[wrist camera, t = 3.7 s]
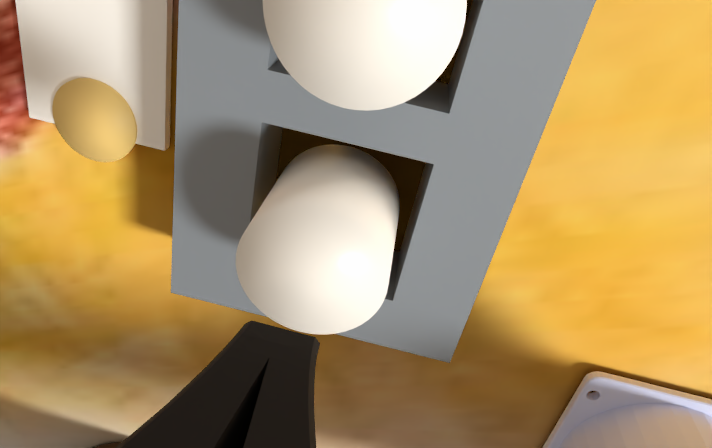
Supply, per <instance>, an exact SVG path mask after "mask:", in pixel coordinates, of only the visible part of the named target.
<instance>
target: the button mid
mask: <svg viewBox="0 0 712 448" xmlns="http://www.w3.org/2000/svg"><path fill="white" fill-rule="evenodd" d="M466 9H467V0H263V14H264V20H265V25H266V30H267V33H268V36H269V39H270V42H271V44H272V46H273V49H274V51H275V53H276V55H277V57H278V58H279V60H280V62H281V63H282V65H283V66H284V68H285V69H286V70H287V71H288V73H289V74H290V75H291V76H292V77H293V78H294V79H295V80H296V81H297V82H298V83H299V84H300V85H301V86H302V87H303V88H304V89H306V90H307V91H308V92H310V93H311V94H313V95H314V96H316V97H318V98H319V99H321V100H323V101H325V102H328V103H330V104H332V105H335V106H339V107H342V108H346V109H352V110H364V111H369V110H380V109H385V108H390V107H393V106H396V105H399V104H402V103H404V102H406V101H408V100H410V99H412V98H414V97H416V96H417V95H419V94H420V93H422V92H423V91H424V90H426V89H427V88H428V87H429V86H430V85H431V84H432V83H434V82H435V81H436V80H437V78H438V77H439V76H440V75H441V74H442V73H443V72H444V70H445V69H446V67H447V66H448V64H449V63H450V61H451V60H452V58H453V56H454V54H455V52H456V50H457V48H458V45H459V42H460V39H461V37H462V33H463V29H464V24H465V19H466Z"/></svg>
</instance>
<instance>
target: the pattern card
mask: <svg viewBox="0 0 712 448" xmlns="http://www.w3.org/2000/svg"><path fill="white" fill-rule="evenodd" d="M15 2H16V10H17V18H18V26H19V35H20V43H21V51H22V60H23V68H24V76H25V84H26V93H27V101H28V109H29V117H30V118H34V119H38V120H42V121H46V122H50V123H54V124H56V127H57V129H58V131H59V133H60V134H61V136H62V137H63V139H64V140H65V141H66V142H67V144H68V145H69V146H70V147H71V148H73V149H74V150H75V151H76V152H78V153H79V154H81V155H83V156H84V157H86V158H89V159H91V160H94V161H99V162H113V161H117V160H119V159H121V158H123V157H125V156H126V155H127V154H128V153H129V152H130V151H131V150H132V149H133V148H134V146H135V144H139V145H143V146H147V147H151V148H156V149H160V150H164V151H165V150H166V149H167V148H169V147H170V107H171V60H172V13H173V0H15Z"/></svg>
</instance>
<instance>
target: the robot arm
mask: <svg viewBox="0 0 712 448" xmlns="http://www.w3.org/2000/svg"><path fill="white" fill-rule="evenodd" d="M319 345H320V343H319V342H318V340H317V339H316V338H315V337H312V336H308V335H304V334H301V333H297V332H293V331H289V330H285V329H282V328H278V327H274V326H270V325H266V324H263V323H259V322H255V321H250V322H248V323H246V324H245V325H244V326H243V327H242V328H241V330H240V331H239V332H238V333H237V334H236V336H235V337H234V338H233V339H232V340H231V341H230V342H229V343H228V345H227V346H226V347H225V348H224V349H223V350H222V351H221V352H220V353H219V354H218V355H217V356H216V357H215V358H214V359H213V360H212V361H211V362H210V364H209V365H208V366H207V367H206V368H205V369H204V370H203V371H202V372H201V373H200V374H198V375H197V376H196V377H195V378H194V379H193V380H192V381H191V382H190V383H189V384H188V385H187V386H186V387H185V388H184V389H183V390H182V391H181V392H180V393H178V394H177V395H176V396H175V397H174V398H173V399H172V400H171V401H170V402H169V403H168V404H167V405H165V406H164V407H163V408H162V409H161V410H160V411H158V412H157V413H156V414H155V415H154V416H153V417H151V418H150V419H149V420H148V421H147V422H146V423H144V424H143V425H142V426H141V427H140V428H138V429H137V430H136V431H135V432H134V433H133V434H131V435H130V436H129V437H128V438H127V439H125V440H124V441H123V442H122V443H120V444H119V445H118V446H117V447H115V448H316V437H315V420H314V379H315V366H316V359H317V354H318V349H319ZM590 391H595V392H593V393H588V392H590ZM542 448H712V399H708V398H704V397H700V396H696V395H692V394H688V393H684V392H680V391H676V390H673V389H669V388H665V387H661V386H657V385H653V384H649V383H645V382H641V381H637V380H633V379H629V378H625V377H621V376H617V375H613V374H609V373H605V372H600V371H595V372H591V373H589V374H587V375H586V376H585V377H584V379H583V380H582V382H581V384H580V385H579V387H578V389H577V390H576V392H575V394H574V395H573V397H572V399H571V400H570V402H569V404H568V405H567V407H566V409H565V410H564V412H563V414H562V416H561V417H560V419H559V421H558V422H557V424H556V426H555V427H554V429H553V431H552V432H551V434H550V436H549V437H548V439H547V441H546V442H545V444H544V446H543V447H542Z"/></svg>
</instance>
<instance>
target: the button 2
mask: <svg viewBox="0 0 712 448" xmlns="http://www.w3.org/2000/svg"><path fill="white" fill-rule="evenodd" d="M399 212H400V199H399V193H398V189H397V187H396V184H395V182H394V180H393V178H392V176H391V175H390V173H389V172H388V171H387V169H386V168H385V167H384V166H383V165H382V164H381V163H380V162H379V161H378V160H376V159H375V158H374V157H372V156H371V155H369V154H367V153H366V152H363V151H361V150H359V149H356V148H353V147H350V146H345V145H335V144H331V145H321V146H317V147H313V148H311V149H308V150H306V151H304V152H302V153H300V154H299V155H297V156H296V157H295V158H294V159H293V160H292V161H291V162H289V164H288V165H287V166H286V168H285V169H284V171H283V172H282V174H281V175H280V177H279V178H278V180H277V182H276V183H275V185H274V186H273V188H272V189H271V191H270V193H269V194H268V196H267V197H266V199H265V200H264V202H263V203H262V205H261V207H260V208H259V210H258V211H257V213H256V214H255V216H254V218H253V219H252V221H251V222H250V224H249V225H248V227H247V229H246V230H245V232H244V233H243V235H242V237H241V239H240V241H239V244H238V247H237V252H236V270H237V275H238V278H239V281H240V284H241V286H242V288H243V290H244V292H245V293H246V295H247V297H248V298H249V299H250V300H251V302H252V303H253V304H254V305H255V306H256V307H257V308H258V309H259V310H260V311H261V312H262V313H264V314H265V315H266V316H267V317H269V318H270V319H272V320H273V321H275V322H277V323H279V324H281V325H283V326H285V327H287V328H290V329H293V330H296V331H299V332H304V333H309V334H336V333H341V332H345V331H348V330H351V329H354V328H356V327H358V326H360V325H362V324H363V323H365V322H366V321H368V320H369V319H370V318H371V317H372V316H373V315H374V314H375V313H376V312H377V311H378V310H379V308H380V307H381V305H382V303H383V302H384V299H385V297H386V294H387V290H388V285H389V278H390V272H391V265H392V258H393V252H394V245H395V239H396V232H397V225H398V219H399Z"/></svg>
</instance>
